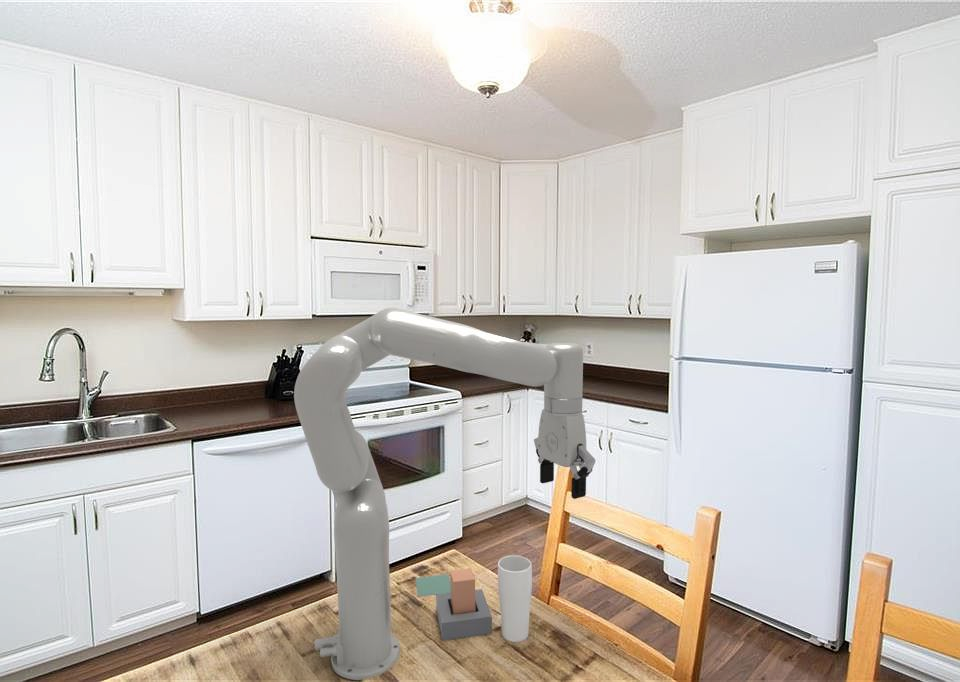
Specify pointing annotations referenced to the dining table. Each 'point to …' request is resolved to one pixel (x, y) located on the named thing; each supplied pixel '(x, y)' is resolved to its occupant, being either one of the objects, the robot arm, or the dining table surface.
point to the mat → (433, 585)
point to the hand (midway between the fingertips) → (562, 489)
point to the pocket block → (463, 618)
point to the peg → (462, 591)
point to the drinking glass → (515, 596)
